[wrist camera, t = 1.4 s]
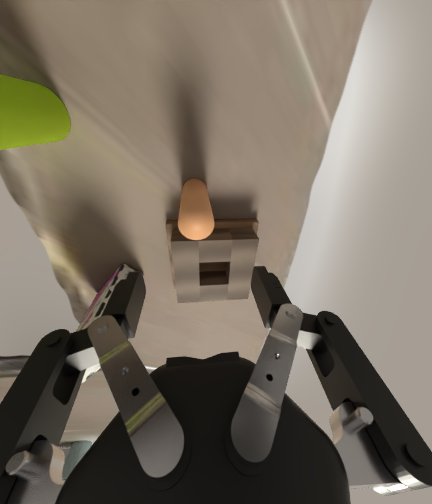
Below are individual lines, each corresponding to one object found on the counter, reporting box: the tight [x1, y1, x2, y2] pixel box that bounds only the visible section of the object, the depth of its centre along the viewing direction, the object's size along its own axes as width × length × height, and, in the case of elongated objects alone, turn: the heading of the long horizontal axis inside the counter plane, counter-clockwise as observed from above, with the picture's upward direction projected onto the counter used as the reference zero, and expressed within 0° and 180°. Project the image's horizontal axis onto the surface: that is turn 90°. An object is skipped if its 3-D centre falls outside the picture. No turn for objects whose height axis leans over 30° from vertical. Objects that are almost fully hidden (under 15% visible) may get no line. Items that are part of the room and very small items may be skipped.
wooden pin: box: [178, 179, 214, 240], centre depth 26 cm, size 4×4×12 cm
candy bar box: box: [76, 263, 144, 383], centre depth 33 cm, size 11×5×16 cm, turn 137°
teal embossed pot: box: [62, 441, 92, 482], centre depth 90 cm, size 10×10×12 cm
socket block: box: [166, 219, 259, 303], centre depth 36 cm, size 16×16×6 cm
